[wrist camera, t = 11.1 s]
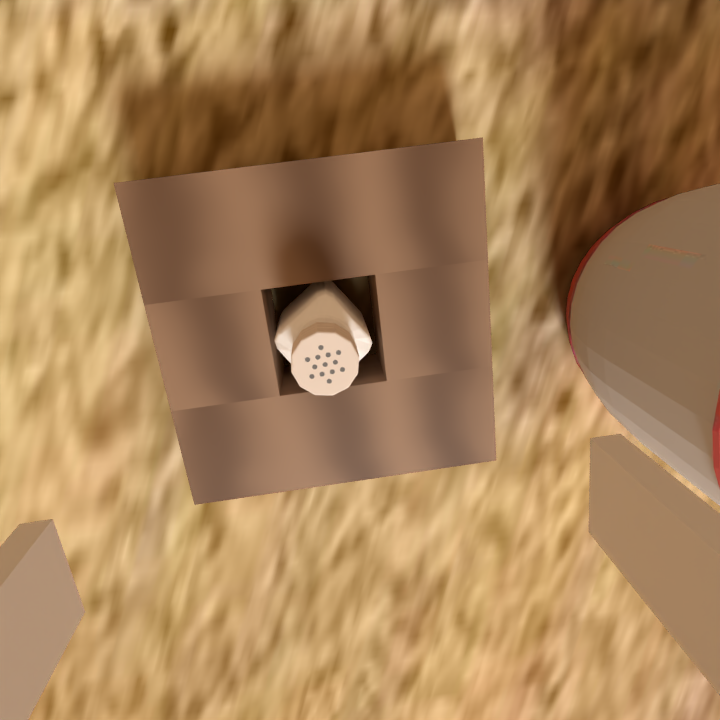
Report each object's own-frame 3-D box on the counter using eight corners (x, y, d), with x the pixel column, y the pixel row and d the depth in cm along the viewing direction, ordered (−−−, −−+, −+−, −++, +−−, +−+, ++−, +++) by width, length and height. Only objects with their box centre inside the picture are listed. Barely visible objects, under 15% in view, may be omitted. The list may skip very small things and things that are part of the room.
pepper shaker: (320, 358, 35) (323, 420, 26) (276, 314, 34) (262, 363, 25) (367, 317, 34) (386, 366, 25) (323, 270, 33) (327, 304, 24)
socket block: (210, 462, 36) (194, 504, 32) (144, 182, 31) (113, 183, 26) (473, 424, 37) (496, 460, 32) (457, 144, 31) (482, 137, 27)
